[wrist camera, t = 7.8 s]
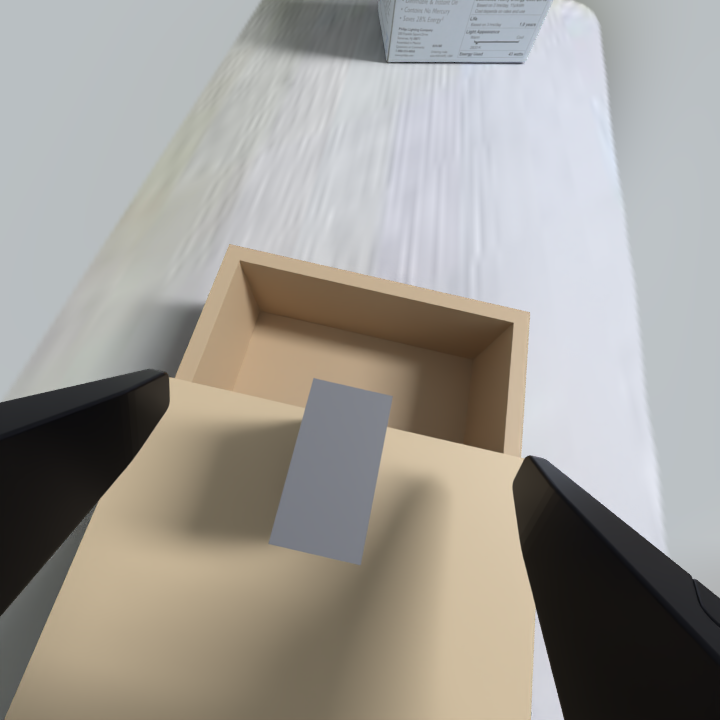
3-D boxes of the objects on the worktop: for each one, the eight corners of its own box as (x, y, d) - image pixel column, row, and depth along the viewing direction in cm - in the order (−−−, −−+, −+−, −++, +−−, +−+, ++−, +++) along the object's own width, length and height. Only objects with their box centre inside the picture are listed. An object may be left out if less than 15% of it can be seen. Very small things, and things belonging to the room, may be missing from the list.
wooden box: (452, 626, 15) (506, 689, 10) (163, 559, 15) (87, 591, 10) (481, 355, 19) (530, 312, 14) (254, 303, 19) (229, 244, 14)
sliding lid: (500, 1057, 8) (763, 1945, 3) (-67, 921, 8) (-673, 1579, 3) (531, 463, 12) (661, 447, 7) (162, 378, 12) (51, 308, 7)
